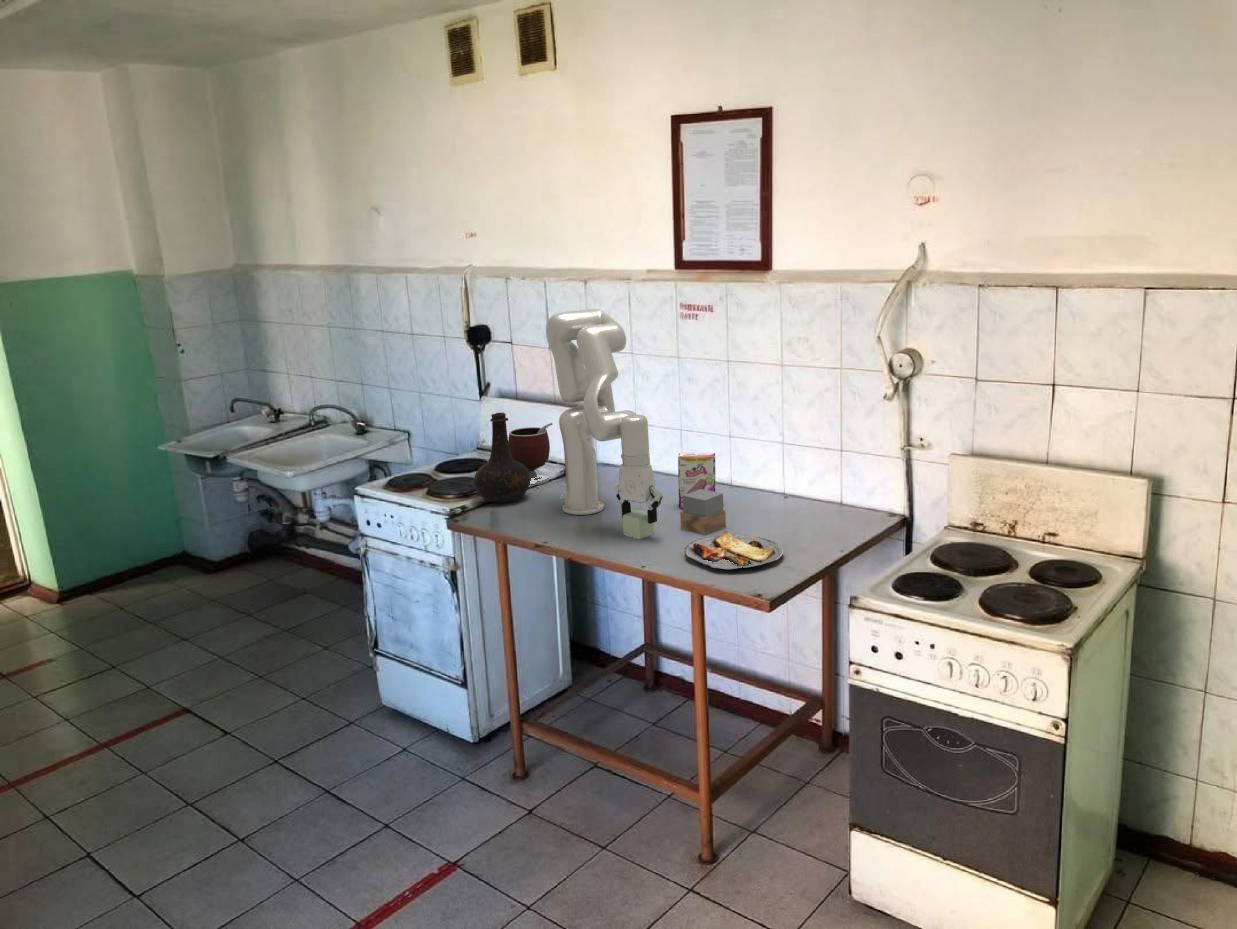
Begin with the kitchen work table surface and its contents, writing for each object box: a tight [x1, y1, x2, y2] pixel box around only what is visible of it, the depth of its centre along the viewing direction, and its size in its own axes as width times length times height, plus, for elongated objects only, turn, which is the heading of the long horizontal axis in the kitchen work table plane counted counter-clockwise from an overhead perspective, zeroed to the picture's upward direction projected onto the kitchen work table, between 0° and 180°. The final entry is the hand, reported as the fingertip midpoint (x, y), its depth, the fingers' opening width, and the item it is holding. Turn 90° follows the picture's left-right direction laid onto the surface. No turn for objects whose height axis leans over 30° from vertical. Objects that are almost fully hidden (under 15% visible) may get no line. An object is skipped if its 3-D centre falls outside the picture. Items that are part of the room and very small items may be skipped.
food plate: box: [684, 531, 784, 570], centre depth 259 cm, size 25×23×4 cm
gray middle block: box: [682, 489, 724, 518], centre depth 281 cm, size 8×8×5 cm
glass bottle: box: [473, 412, 531, 504], centre depth 316 cm, size 18×18×28 cm
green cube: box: [622, 509, 655, 540], centre depth 279 cm, size 6×6×6 cm
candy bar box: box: [677, 452, 717, 509], centre depth 301 cm, size 11×5×16 cm, turn 84°
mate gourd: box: [508, 422, 554, 485], centre depth 338 cm, size 16×14×20 cm
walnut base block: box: [679, 509, 727, 536], centre depth 282 cm, size 9×9×5 cm
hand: (639, 519), depth 278 cm, fingers open, 9 cm apart
